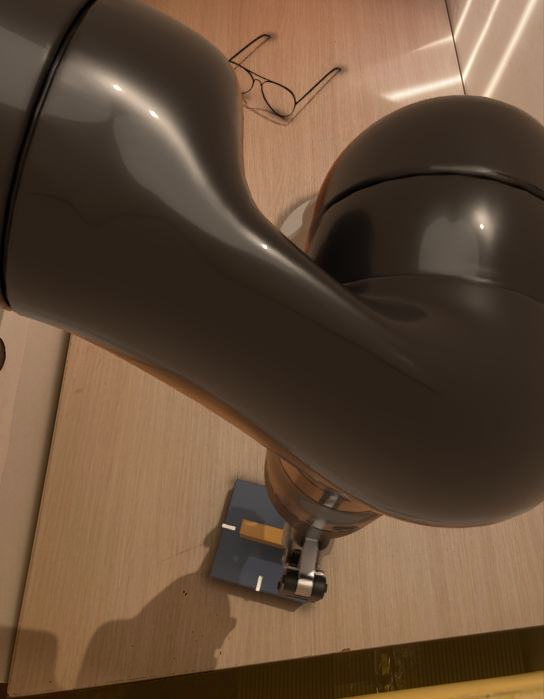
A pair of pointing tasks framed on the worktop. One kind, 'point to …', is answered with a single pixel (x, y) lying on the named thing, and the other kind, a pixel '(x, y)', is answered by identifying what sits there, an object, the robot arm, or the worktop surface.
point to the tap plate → (249, 542)
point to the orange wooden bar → (261, 533)
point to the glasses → (273, 81)
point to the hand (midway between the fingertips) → (306, 504)
